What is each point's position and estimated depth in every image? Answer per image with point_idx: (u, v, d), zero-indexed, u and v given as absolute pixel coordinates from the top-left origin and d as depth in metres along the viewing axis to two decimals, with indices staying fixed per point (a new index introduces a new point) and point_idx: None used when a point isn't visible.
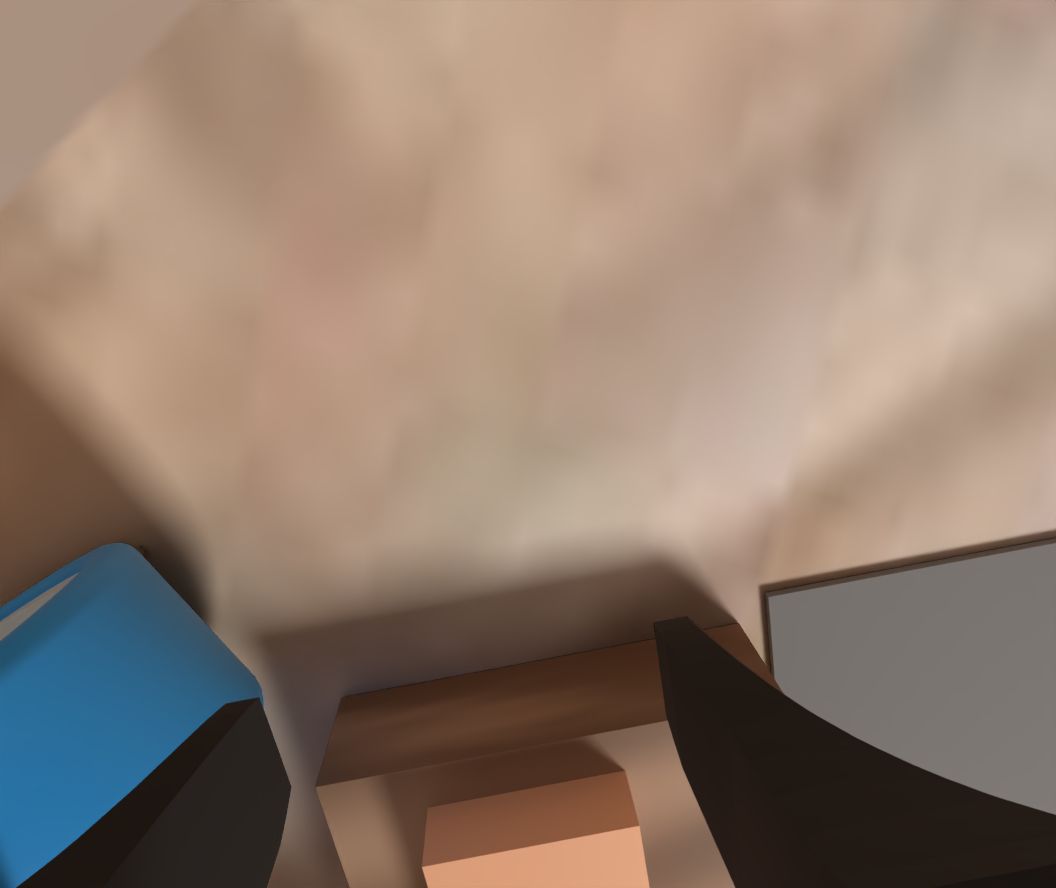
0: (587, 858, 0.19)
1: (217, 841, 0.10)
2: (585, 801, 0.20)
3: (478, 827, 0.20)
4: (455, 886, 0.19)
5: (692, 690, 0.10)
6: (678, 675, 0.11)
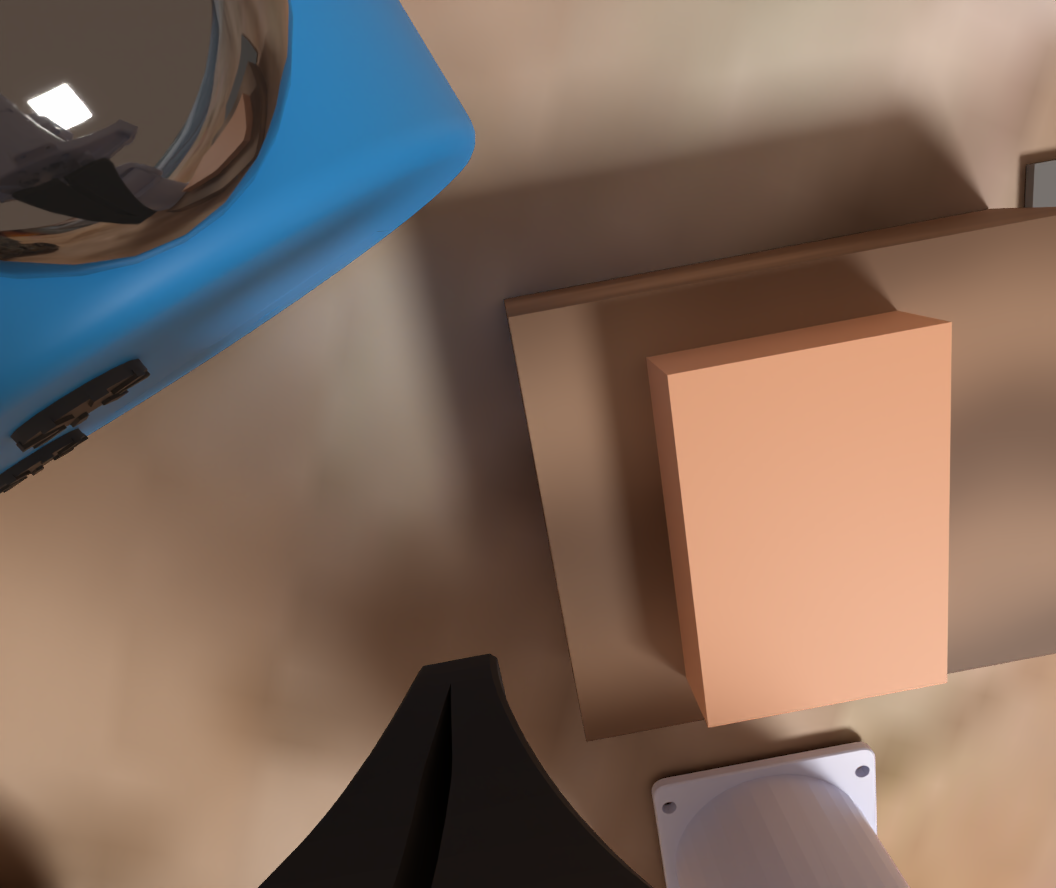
0: (879, 372, 0.15)
1: None
2: (860, 326, 0.15)
3: (725, 353, 0.15)
4: (706, 409, 0.15)
5: None
6: None
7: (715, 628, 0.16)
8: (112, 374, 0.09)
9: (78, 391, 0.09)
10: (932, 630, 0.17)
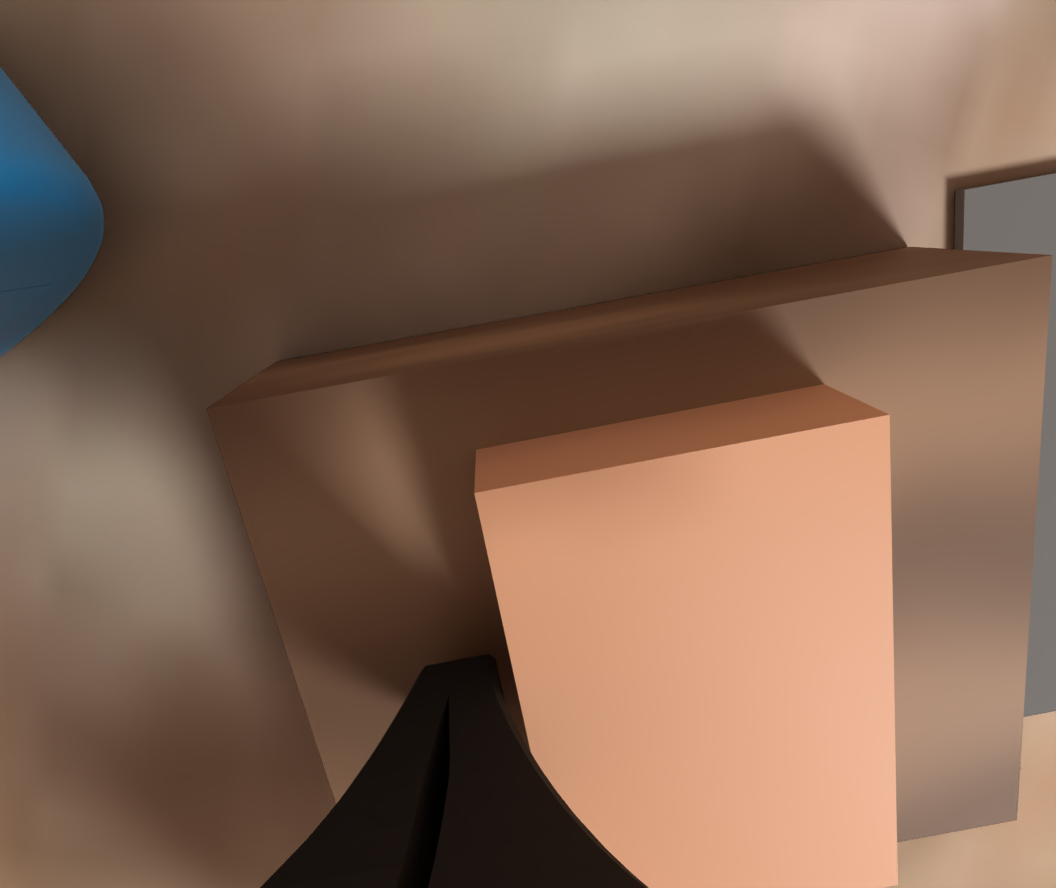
0: (786, 485, 0.10)
1: None
2: (766, 411, 0.11)
3: (573, 452, 0.11)
4: (536, 539, 0.10)
5: None
6: None
7: None
8: None
9: None
10: (875, 821, 0.12)
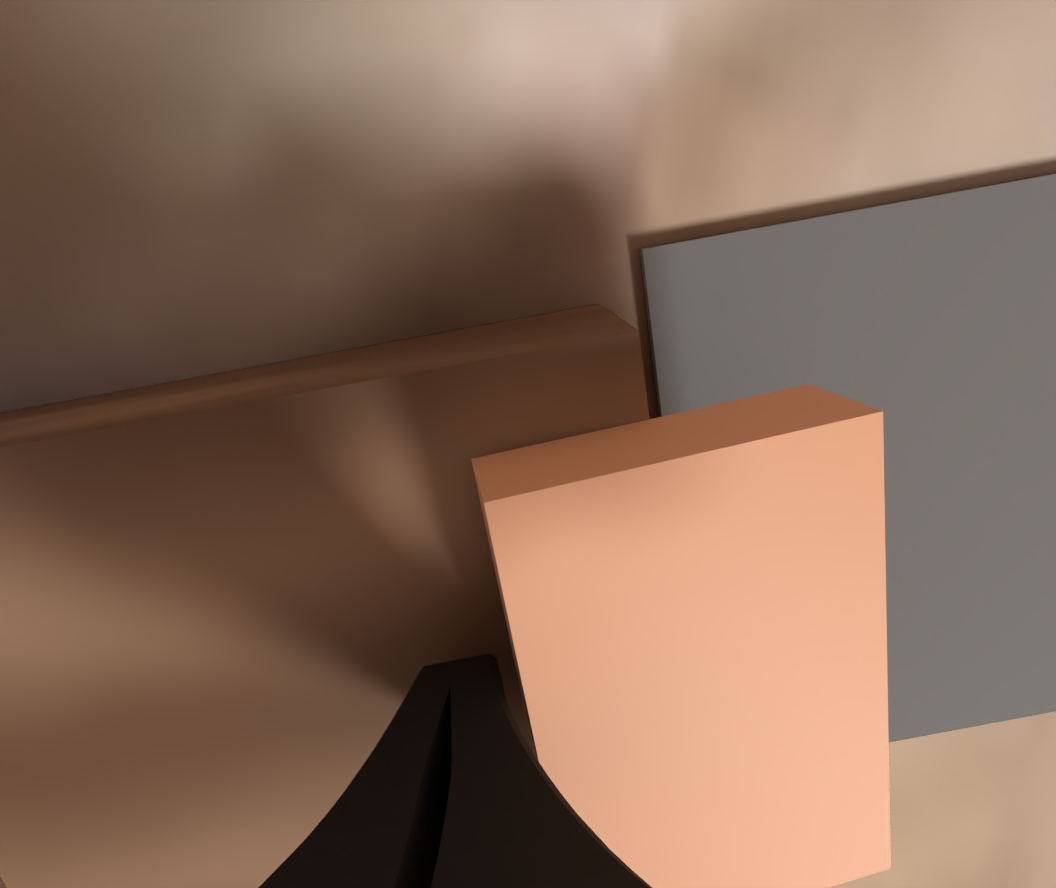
0: (787, 483, 0.10)
1: None
2: (760, 411, 0.11)
3: (576, 457, 0.11)
4: (546, 547, 0.10)
5: None
6: None
7: None
8: None
9: None
10: (870, 808, 0.12)
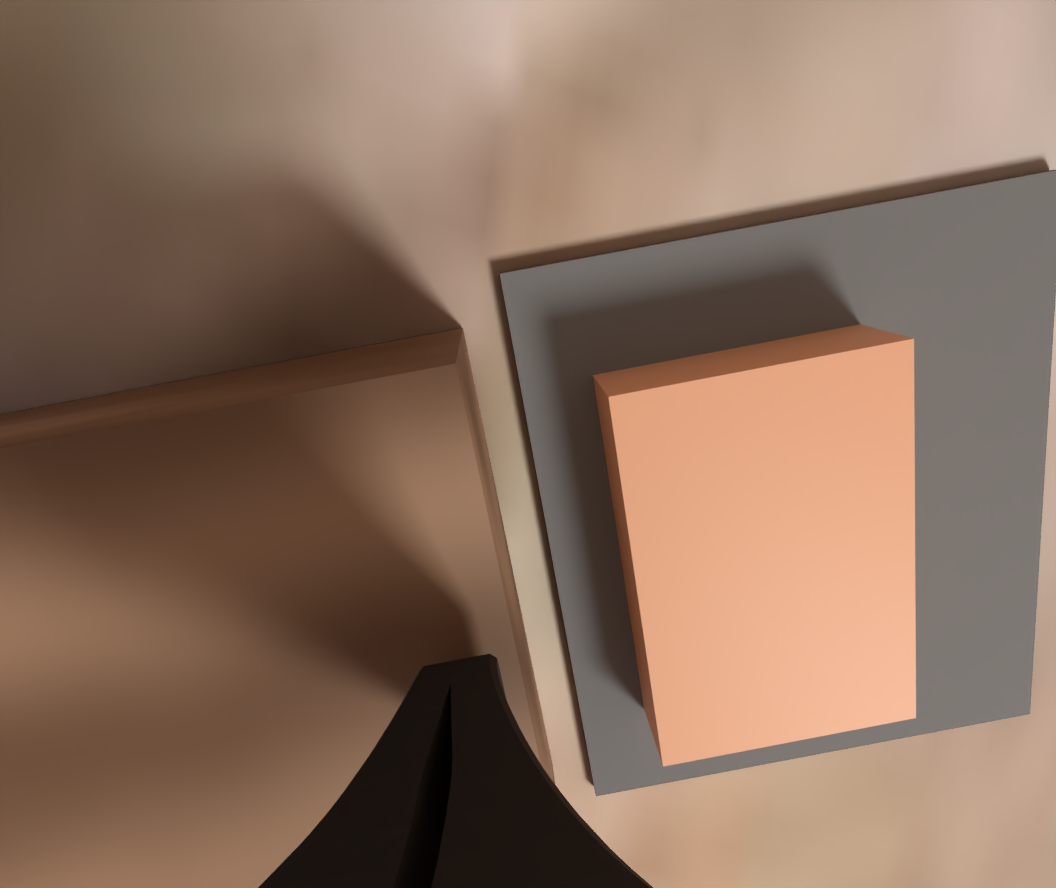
0: None
1: None
2: (665, 374, 0.14)
3: (810, 344, 0.14)
4: None
5: None
6: None
7: None
8: None
9: None
10: None
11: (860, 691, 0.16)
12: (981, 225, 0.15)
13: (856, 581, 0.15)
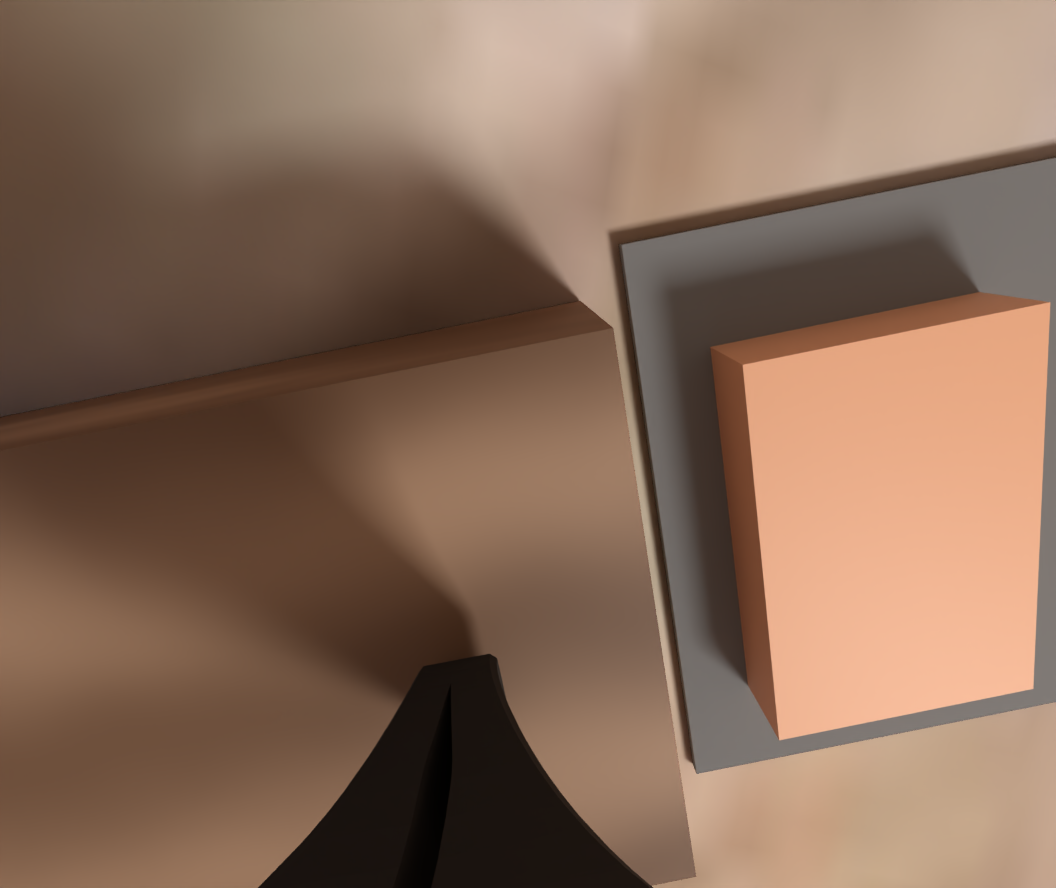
0: None
1: None
2: (792, 343, 0.14)
3: (936, 311, 0.14)
4: None
5: None
6: None
7: None
8: None
9: None
10: None
11: (979, 662, 0.16)
12: None
13: (980, 550, 0.15)
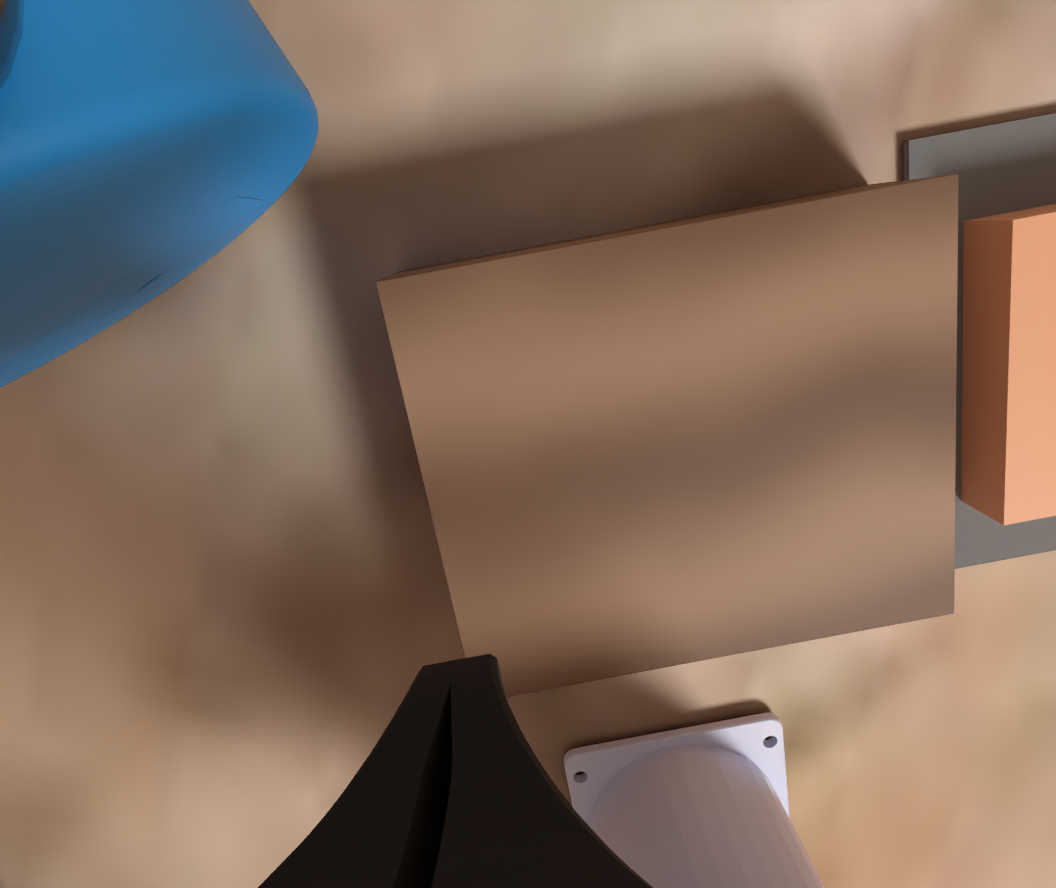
0: None
1: None
2: (1037, 211, 0.19)
3: None
4: None
5: None
6: None
7: None
8: None
9: None
10: None
11: None
12: None
13: None
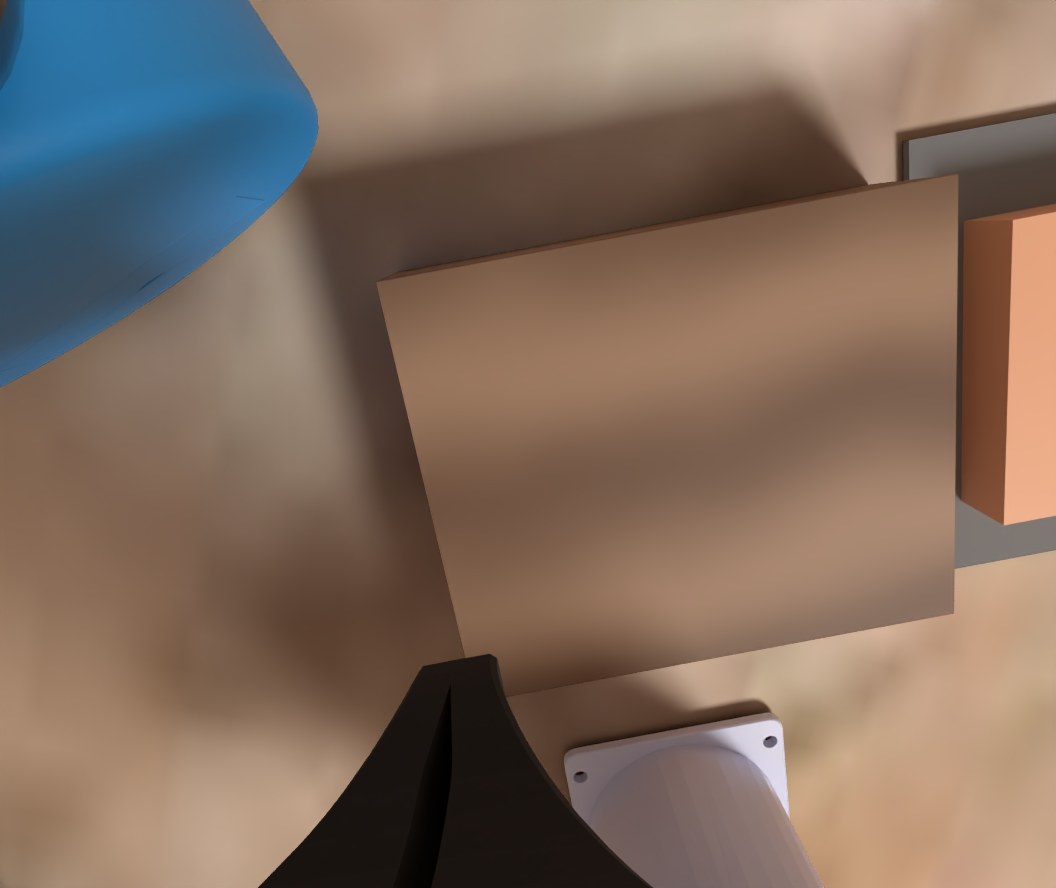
0: None
1: None
2: (1037, 211, 0.19)
3: None
4: None
5: None
6: None
7: None
8: None
9: None
10: None
11: None
12: None
13: None
